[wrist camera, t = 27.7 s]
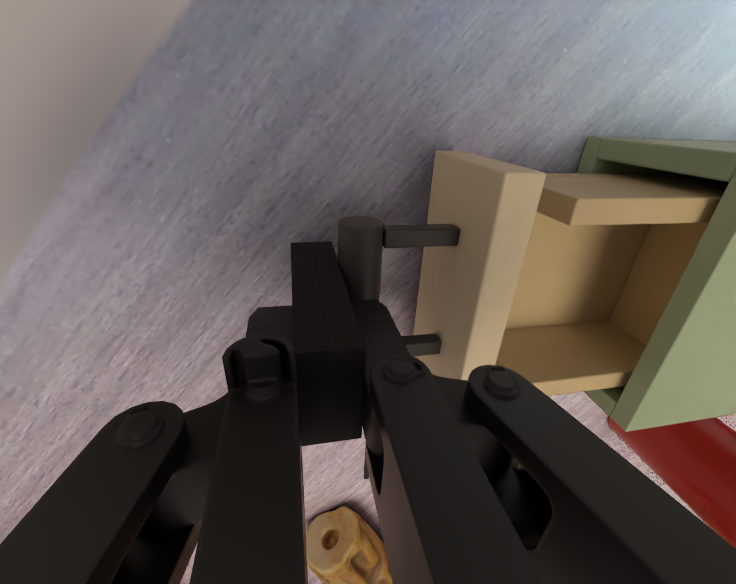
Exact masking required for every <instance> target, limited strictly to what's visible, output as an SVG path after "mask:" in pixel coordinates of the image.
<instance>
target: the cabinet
mask: <svg viewBox="0 0 736 584" xmlns="http://www.w3.org/2000/svg"><path fill="white" fill-rule="evenodd" d="M577 173H585V174H668V175H674V176H679V177H682V178H691V179H696V180H702V181H707V182H712V183H718V184H723V185H728V186H727V188H726V190H725V192H724V194H723V196H722V198H721V200H720V202H719V204H718V206H717V208H716V210H715V212H714V213H713V215H712V217H711V219H710V221H709V223H708V225H707V227H706V229H705V231H704V233H703V235H702V237H701V239H700V241H699V243H698V245H697V247H696V249H695V251H694V253H693V255H692V257H691V259H690V261H689V263H688V265H687V267H686V268H685V270H684V272H683V274H682V276H681V278H680V280H679V282H678V284H677V286H676V288H675V290H674V292H673V294H672V296H671V298H670V300H669V302H668V304H667V306H666V308H665V310H664V312H663V314H662V316H661V318H660V320H659V322H658V324H657V325H656V327H655V329H654V331H653V333H652V335H651V337H650V339H649V341H648V343H647V345H646V347H645V349H644V351H643V353H642V355H641V357H640V359H639V361H638V363H637V365H636V367H635V369H634V371H633V373H632V375H631V377H630V379H629V380H628V382H627V384H626V386H620V387H613V388H605V389H597V390H590V391H584V392H585V393H586V394H587V395H588V396H589V397H590V398H591V399H592V400H593V401H594V402H595V403H596V404H597V405H598V406H599V407H600V408H601V409H602V410H603V411H604V412H605V413H606V414H607V415H608V416H610V417H611V418H612V419H613V420H614V421H615V422H616V423H617V424H618V425H619V426H620V427H621V428H622V429H623V430H624V431H625V432H628V431H634V430H640V429H647V428H653V427H659V426H665V425H671V424H677V423H683V422H689V421H695V420H702V419H708V418H714V417H720V416H726V415H732V414H736V141H712V140H683V139H654V138H625V137H596V136H590V137H588V138H587V141H586V145H585V148H584V151H583V154H582V158H581V161H580V164H579V167H578V171H577Z"/></svg>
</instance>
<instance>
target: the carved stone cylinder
mask: <svg viewBox="0 0 736 584" xmlns="http://www.w3.org/2000/svg"><path fill="white" fill-rule="evenodd" d="M306 553H307V564H308V566H309V567H310V568H311V570H312V571H313V573H315V574H316V576H317V577H318V578H319V579H320V580H321V581H322V583H323V584H393V582H392V578H391V573H390V568H389V564H388V559H387V555H386V550H385V546H384V543H383V542H382V541H381V540H380V539H379V537H378V536H377V534H376V533H375V532H374V531H373V529H372V528H371V527H370V526H369V525H368V524H367V523H366V522H365V521H364V520H363V519H361V517H360V516H359V515H358V514H357V513H355V512H354V511H352V510H351V509H349V508H348V507H344V506H343V507H340V508H338V509H337V510H335V511H331V512H325V513H323V514H320V515H319V516H317V517H316V518H315V519H314V520H313V521H312V523H311V524H310V526H309V528H308V530H307V533H306Z"/></svg>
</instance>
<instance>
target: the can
mask: <svg viewBox="0 0 736 584" xmlns="http://www.w3.org/2000/svg"><path fill="white" fill-rule="evenodd" d="M608 423H609V426H610V428H611V429H612V430H613V431H614V432H615V433H616V434H617V435H618V436H619V437H620V438H621V439H622V440H623V441H624V442H625V443H626V444H627V445H628V446H629V447H630V448H631V449H632V450H633V451H634V452H635V453H636V454H637V455H638V456H639V457H640V458H641V459H642V460H643V461H644V462H645V463H646V464H647V465H648V466H649V467H650V468H651V469H652V470H653V471H654V472H655V473H656V474H657V475H658V476H659V477H660V478H661V479H662V480H663V481H664V482H665V483H666V484H667V485H668V486H669V487H670V488H671V489H672V490H673V491H674V492H675V493H676V494H677V495H678V496H679V497H680V498H681V499H682V500H683V501H684V502H685V503H686V504H687V505H688V506H689V507H690V508H691V509H692V510H693V511H694V512H695V513H696V514H697V515H698V516H699V517H700V518H701V519H702V520H703V521H704V522H705V523H706V524H707V525H708V526H709V527H710V528H711V529H712V530H713V531H714V532H716V533H717V534H718V535H719V536H721V537H722V538H723V539H724V540H726V541H727V542H728V543H729V544H731V545H732V546H733V547H734V548H735V549H736V432H735V431H734V430H733V429H731V428H730V427H729V426H727V425H726V424H724V423H723V422H722V421H720V420H719V419H718V418H716V417H714V418H708V419H702V420H695V421H689V422H683V423H677V424H671V425H665V426H659V427H653V428H647V429H640V430H634V431H628V432H625V431H624V430H623V429H622V428H621V427H620V426H619V425H618V424H617V423H616V422H615V421H614V420H613V419H612V418H611V417H610V416H609V418H608Z"/></svg>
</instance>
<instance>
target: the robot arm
mask: <svg viewBox="0 0 736 584" xmlns="http://www.w3.org/2000/svg"><path fill="white" fill-rule="evenodd" d="M291 271H292V306H275V307H259V308H257V309H256V311H255V312H254V313H253V314H252V315H251V316H250V317H249V321H248V326H247V332H246V338H243V339H241V340H239V341H236V342H235V343H234V344H232V345H231V346H230V347H228V348H227V349H226V351H225V353H224V355H223V356H222V359H223V365H224V370H225V375H226V381H227V386H228V393H227V394H226V395H224V396H223V397H221V398H220V399H218V400H216V401H215V402H212V403H210V404H208V405H205V406H202V407H200V408H197V409H194V410H191V411H188V412H185V413H183V411H182V410H181V409H180V408H179V407H178V406H177V405H175V404H173V403H169V402H165V401H157V402H147V403H144V404H141V405H137V406H134V407H131V408H129V409H128V410H126V411H124V412H122V413H120V414H119V415H117V416H115V417H114V418H113V419H112V420H111V421H110V422H108V423H107V424H106V425H105V426H104V427H103V428H102V429H101V430H100V431H99V432H98V433H97V435H96V436H95V437H94V438H93V439H92V440H91V441H90V443H89V444H88V445H87V446H86V447H85V448H84V449H83V451H82V452H81V453H80V454H79V455H78V456H77V457H76V459H75V460H74V461H73V462H72V463H71V464H70V465H69V467H68V468H67V469H66V470H65V471H64V472H63V473H62V475H61V476H60V477H59V478H58V479H57V480H56V481H55V482H54V484H53V485H52V486H51V487H50V488H49V489H48V490H47V492H46V493H45V494H44V495H43V496H42V497H41V498H40V500H39V501H38V502H37V503H36V504H35V505H34V506H33V508H32V509H31V510H30V511H29V512H28V513H27V514H26V516H25V517H24V518H23V519H22V520H21V521H20V522H19V524H18V525H17V526H16V527H15V528H14V529H13V530H12V531H11V533H10V534H9V535H8V536H7V537H6V538H5V539H4V541H3V542H2V543H1V544H0V584H180V582H181V579H182V577H183V575H184V572H185V570H186V567H187V565H188V563H189V560H190V558H191V556H192V553H193V551H194V549H195V546H196V544H197V542H198V544H197V549H196V554H195V559H194V564H193V569H192V574H191V579H190V584H308V575H307V553H306V531H305V509H304V487H303V466H302V449H301V446H307V445H314V444H321V443H328V442H335V441H343V440H350V439H357V438H361V436H362V426H363V431H364V435H365V439H366V447H365V463H364V479H369V477H370V482H371V486H372V491H373V495H374V500H375V505H376V509H377V514H378V518H379V523H380V527H381V532H382V536H383V541H384V546H385V550H386V555H387V559H388V564H389V568H390V573H391V578H392V582H393V584H736V549H735V548H734V547H733V546H732V545H731V544H729V543H728V542H727V541H726V540H724V539H723V538H722V537H721V536H719V535H718V534H717V533H716V532H714V531H713V530H712V529H711V528H710V527H708V526H707V525H706V524H705V523H703V522H702V521H701V520H700V519H698V518H697V517H696V516H695V515H694V514H692V513H691V512H690V511H689V510H687V509H686V508H685V507H684V506H682V505H681V504H680V503H679V502H677V501H676V500H675V499H674V498H673V497H671V496H670V495H669V494H668V493H666V492H665V491H664V490H663V489H661V488H660V487H659V486H658V485H656V484H655V483H654V482H653V481H652V480H650V479H649V478H648V477H647V476H645V475H644V474H643V473H642V472H640V471H639V470H638V469H637V468H636V467H634V466H633V465H632V464H631V463H629V462H628V461H627V460H626V459H624V458H623V457H622V456H621V455H619V454H618V453H617V452H616V451H615V450H613V449H612V448H611V447H610V446H608V445H607V444H606V443H605V442H603V441H602V440H601V439H600V438H599V437H597V436H596V435H595V434H594V433H592V432H591V431H590V430H589V429H587V428H586V427H585V426H584V425H582V424H581V423H580V422H579V421H578V420H576V419H575V418H574V417H573V416H571V415H570V414H569V413H568V412H566V411H565V410H564V409H563V408H561V407H560V406H559V405H558V404H557V403H555V402H554V401H553V400H552V399H550V398H549V397H548V396H547V395H545V394H544V393H543V392H542V391H541V390H539V389H538V388H537V387H536V386H534V385H533V384H532V383H531V382H529V381H528V380H527V379H526V378H524V377H523V376H521V375H520V374H518V373H517V372H515V371H513V370H511V369H508V368H505V367H503V366H497V365H483V366H478V367H477V368H475V369H473V370H472V371H471V373H470V375H469V377H468V381H467V380H460V379H452V378H445V377H440V376H436V375H434V374H432V373H431V371H430V369H429V368H428V367H427V366H426V365H425V364H424V362H422V361H420V360H419V359H417V358H415V357H413V356H410V354H409V351H408V349H407V347H406V345H405V343H404V341H403V339H402V337H401V335H400V333H399V331H398V329H397V327H396V325H395V323H394V321H393V319H392V317H391V315H390V313H389V311H388V309H387V307H386V306H384V305H383V304H382V303H380V302H379V301H378V300H376V299H372V300H355V301H351V300H350V297H349V294H348V291H347V288H346V285H345V281H344V278H343V275H342V272H341V269H340V266H339V264H338V260H337V257H336V254H335V251H334V248H333V245H332V242H296V243H291ZM515 459H516V460H517V461H516V460H515Z"/></svg>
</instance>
